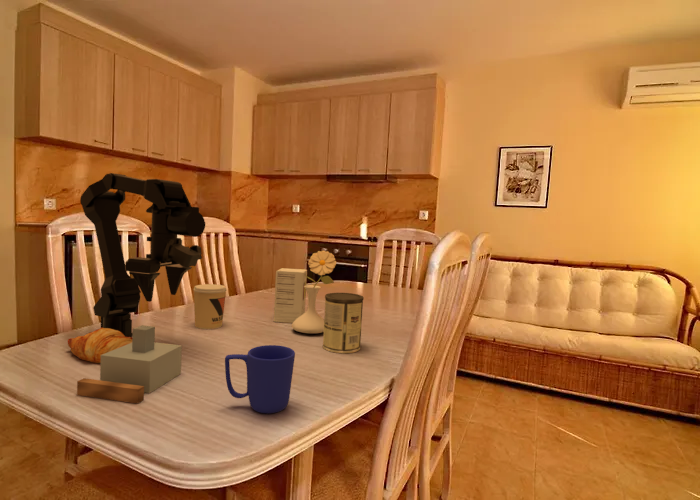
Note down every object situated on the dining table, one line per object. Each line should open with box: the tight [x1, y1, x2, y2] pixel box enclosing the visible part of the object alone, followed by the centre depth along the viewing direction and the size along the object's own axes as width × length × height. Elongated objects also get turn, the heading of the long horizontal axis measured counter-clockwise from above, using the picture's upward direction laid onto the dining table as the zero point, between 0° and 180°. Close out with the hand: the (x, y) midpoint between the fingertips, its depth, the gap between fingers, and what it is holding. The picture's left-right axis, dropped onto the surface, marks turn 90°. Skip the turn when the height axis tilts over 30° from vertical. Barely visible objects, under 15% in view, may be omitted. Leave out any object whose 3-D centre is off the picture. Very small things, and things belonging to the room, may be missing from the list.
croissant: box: [67, 327, 133, 364], centre depth 92 cm, size 21×10×8 cm, turn 75°
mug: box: [224, 344, 296, 414], centre depth 72 cm, size 8×12×10 cm
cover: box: [99, 324, 183, 394], centre depth 80 cm, size 10×10×10 cm
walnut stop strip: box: [76, 377, 145, 404], centre depth 72 cm, size 12×2×2 cm, turn 81°
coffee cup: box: [193, 283, 227, 330], centre depth 123 cm, size 9×9×12 cm
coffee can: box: [322, 292, 364, 354], centre depth 109 cm, size 10×10×14 cm
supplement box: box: [273, 267, 308, 324], centre depth 136 cm, size 10×9×17 cm
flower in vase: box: [291, 250, 337, 335], centre depth 122 cm, size 13×11×25 cm
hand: (161, 297), depth 98 cm, fingers open, 9 cm apart
